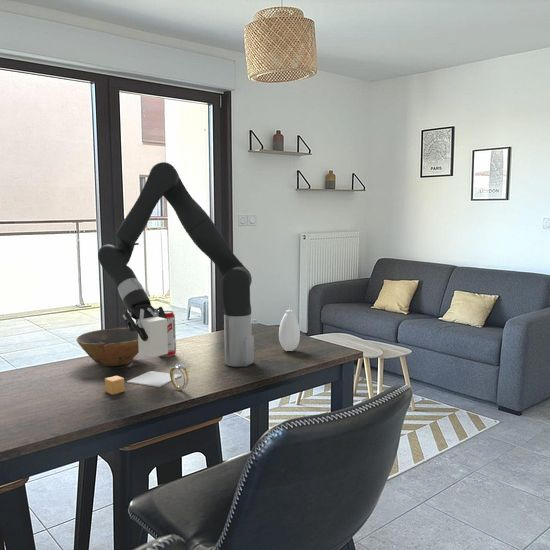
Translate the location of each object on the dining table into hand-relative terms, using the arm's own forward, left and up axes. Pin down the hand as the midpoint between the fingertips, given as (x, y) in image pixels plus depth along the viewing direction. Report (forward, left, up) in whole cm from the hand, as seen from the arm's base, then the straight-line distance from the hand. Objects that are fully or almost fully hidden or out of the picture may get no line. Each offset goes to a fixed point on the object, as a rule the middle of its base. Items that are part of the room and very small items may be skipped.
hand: (156, 337), depth 172 cm
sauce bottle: (-25, -49, -14) cm, 56 cm away
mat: (+1, -1, -14) cm, 14 cm away
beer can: (+14, -27, -14) cm, 33 cm away
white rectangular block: (+2, -1, -5) cm, 6 cm away
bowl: (+25, -12, -14) cm, 31 cm away
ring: (-12, +5, -14) cm, 19 cm away
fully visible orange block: (+5, +13, -14) cm, 20 cm away
